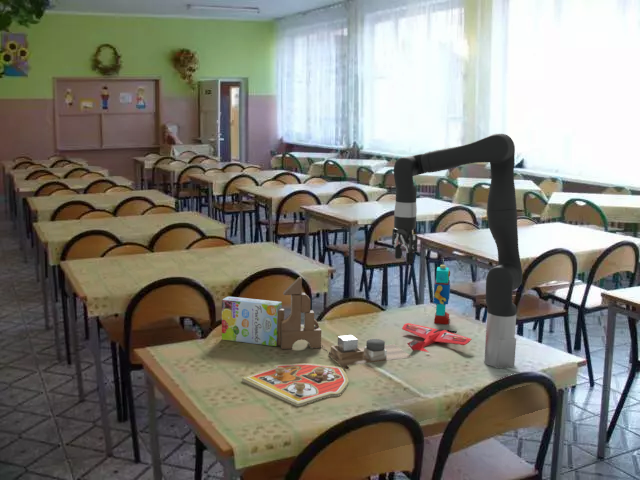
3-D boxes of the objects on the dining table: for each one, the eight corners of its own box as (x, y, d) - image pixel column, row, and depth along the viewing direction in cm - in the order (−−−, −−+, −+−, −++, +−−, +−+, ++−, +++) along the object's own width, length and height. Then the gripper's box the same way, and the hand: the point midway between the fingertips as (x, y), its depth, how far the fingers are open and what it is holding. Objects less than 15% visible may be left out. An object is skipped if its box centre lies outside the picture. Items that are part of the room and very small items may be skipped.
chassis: (412, 360, 248) (413, 348, 247) (344, 368, 239) (345, 356, 239) (394, 347, 261) (394, 335, 260) (328, 354, 252) (329, 342, 251)
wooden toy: (318, 341, 265) (319, 273, 260) (321, 347, 259) (322, 277, 254) (274, 343, 263) (275, 273, 258) (276, 349, 256) (277, 278, 251)
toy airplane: (481, 345, 266) (481, 331, 265) (447, 366, 244) (448, 352, 243) (414, 330, 281) (414, 317, 280) (376, 349, 259) (377, 336, 258)
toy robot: (448, 325, 287) (451, 262, 283) (432, 324, 288) (435, 261, 284) (449, 317, 298) (452, 256, 294) (433, 316, 299) (436, 255, 295)
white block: (357, 356, 248) (357, 339, 246) (343, 358, 246) (343, 340, 245) (351, 351, 252) (351, 334, 251) (337, 353, 250) (337, 336, 249)
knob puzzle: (238, 381, 229) (238, 367, 228) (308, 359, 249) (308, 346, 248) (302, 411, 208) (303, 395, 207) (373, 384, 228) (374, 370, 228)
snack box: (282, 342, 264) (282, 301, 261) (276, 347, 259) (276, 305, 256) (227, 335, 271) (227, 295, 268) (220, 340, 265) (220, 299, 263)
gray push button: (387, 358, 246) (387, 343, 245) (370, 360, 243) (371, 345, 242) (379, 352, 251) (379, 338, 250) (363, 354, 249) (363, 340, 248)
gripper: (425, 217, 251) (423, 264, 254) (405, 211, 264) (403, 256, 267) (405, 218, 249) (403, 265, 252) (386, 212, 262) (384, 257, 265)
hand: (403, 260), depth 259 cm, fingers open, 8 cm apart
